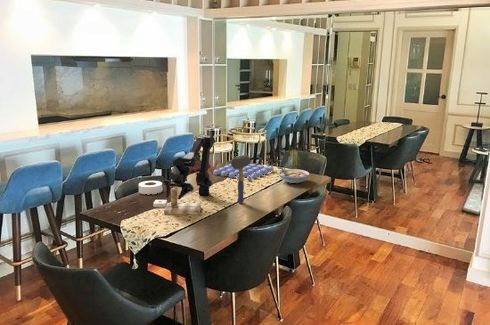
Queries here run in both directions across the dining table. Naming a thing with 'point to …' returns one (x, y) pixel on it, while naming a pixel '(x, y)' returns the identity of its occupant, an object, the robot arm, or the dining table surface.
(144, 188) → the roll of tape
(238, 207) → the dining table surface
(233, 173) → the purple egg tray
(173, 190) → the awl
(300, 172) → the ramen bowl
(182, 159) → the robot arm
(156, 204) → the awl holder
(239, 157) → the rubber mallet
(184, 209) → the beige flat rectangular piece
